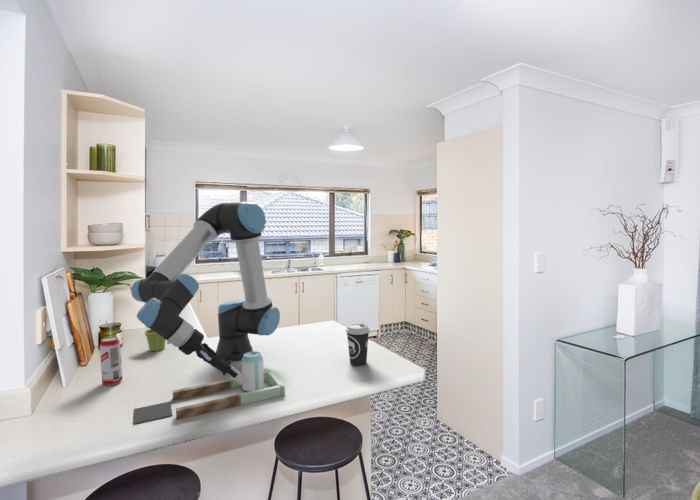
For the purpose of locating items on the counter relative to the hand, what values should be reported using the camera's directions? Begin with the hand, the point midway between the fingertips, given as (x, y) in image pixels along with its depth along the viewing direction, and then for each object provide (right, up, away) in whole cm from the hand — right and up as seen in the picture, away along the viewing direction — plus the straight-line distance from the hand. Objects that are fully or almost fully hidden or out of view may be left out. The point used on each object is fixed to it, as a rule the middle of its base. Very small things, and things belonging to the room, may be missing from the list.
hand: (242, 380), depth 129 cm
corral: (+4, -4, +3) cm, 6 cm away
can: (+2, -5, +5) cm, 7 cm away
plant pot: (-52, -2, +48) cm, 70 cm away
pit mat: (-24, -6, -11) cm, 27 cm away
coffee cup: (+38, -2, +27) cm, 47 cm away
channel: (-11, -5, -4) cm, 13 cm away
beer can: (-50, -5, +11) cm, 51 cm away
